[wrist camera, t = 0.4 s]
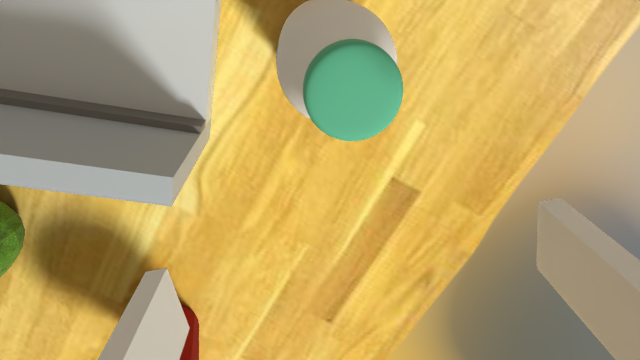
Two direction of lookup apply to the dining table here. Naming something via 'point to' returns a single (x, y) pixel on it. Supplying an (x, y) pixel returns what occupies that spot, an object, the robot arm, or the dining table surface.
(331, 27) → the milk bottle
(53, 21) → the board
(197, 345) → the plastic cup
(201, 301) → the dining table surface
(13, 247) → the avocado
